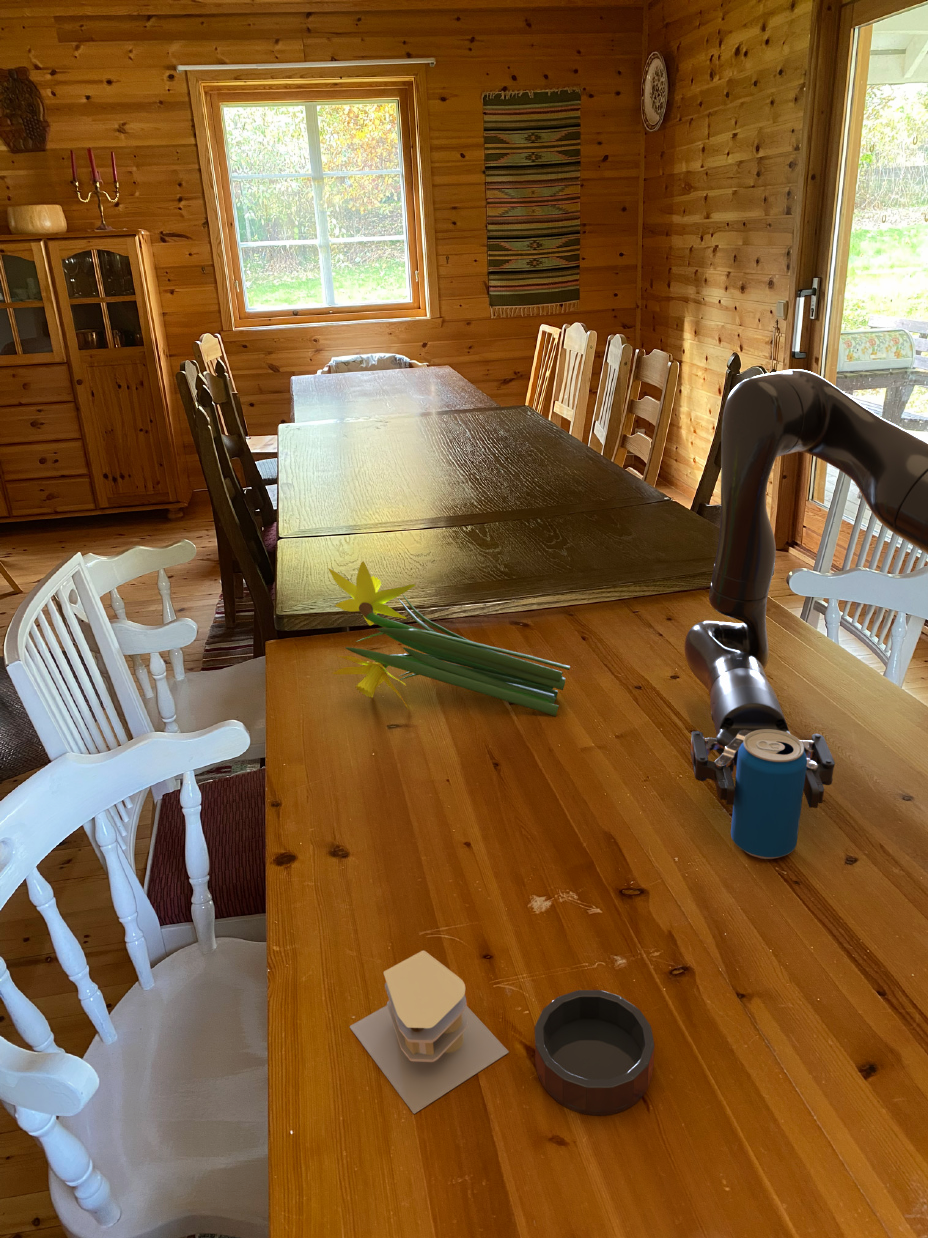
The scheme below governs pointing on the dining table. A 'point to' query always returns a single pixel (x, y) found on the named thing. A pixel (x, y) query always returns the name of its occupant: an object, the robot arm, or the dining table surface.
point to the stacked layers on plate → (426, 1032)
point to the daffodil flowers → (443, 653)
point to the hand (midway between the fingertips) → (772, 799)
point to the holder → (594, 1052)
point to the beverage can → (768, 793)
